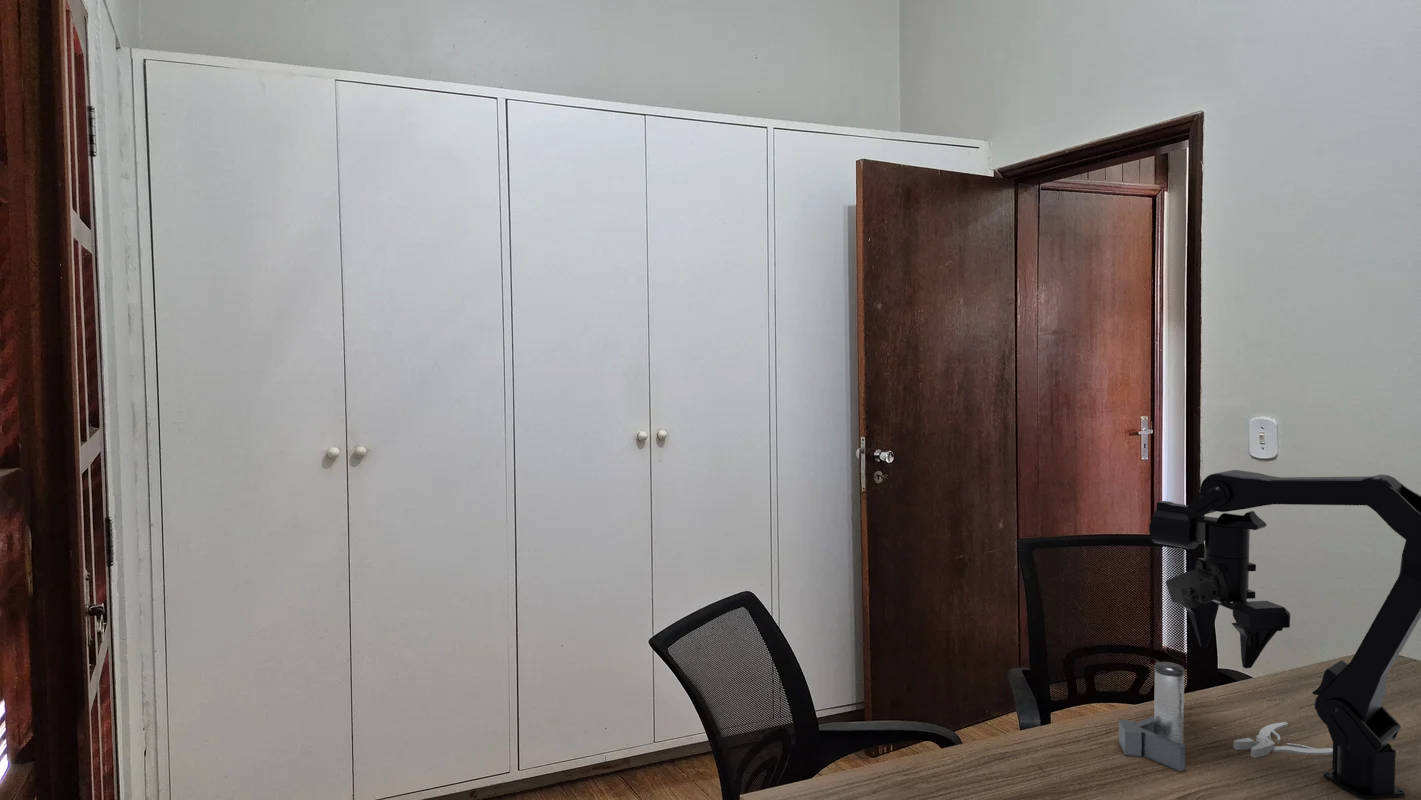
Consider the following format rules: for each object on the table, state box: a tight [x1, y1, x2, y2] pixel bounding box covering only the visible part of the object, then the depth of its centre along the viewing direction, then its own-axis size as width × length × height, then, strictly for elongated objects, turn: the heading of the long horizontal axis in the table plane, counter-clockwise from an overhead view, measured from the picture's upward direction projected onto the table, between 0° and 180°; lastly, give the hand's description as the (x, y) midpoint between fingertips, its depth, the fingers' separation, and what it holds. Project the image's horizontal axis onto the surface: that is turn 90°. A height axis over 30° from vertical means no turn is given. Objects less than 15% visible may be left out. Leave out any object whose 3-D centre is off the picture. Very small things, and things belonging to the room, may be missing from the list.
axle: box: [1153, 661, 1185, 745], centre depth 125 cm, size 4×4×13 cm
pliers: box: [1232, 721, 1333, 759], centre depth 128 cm, size 10×2×15 cm
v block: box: [1118, 715, 1186, 772], centre depth 126 cm, size 7×12×4 cm, turn 165°
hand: (1224, 656), depth 128 cm, fingers open, 9 cm apart
